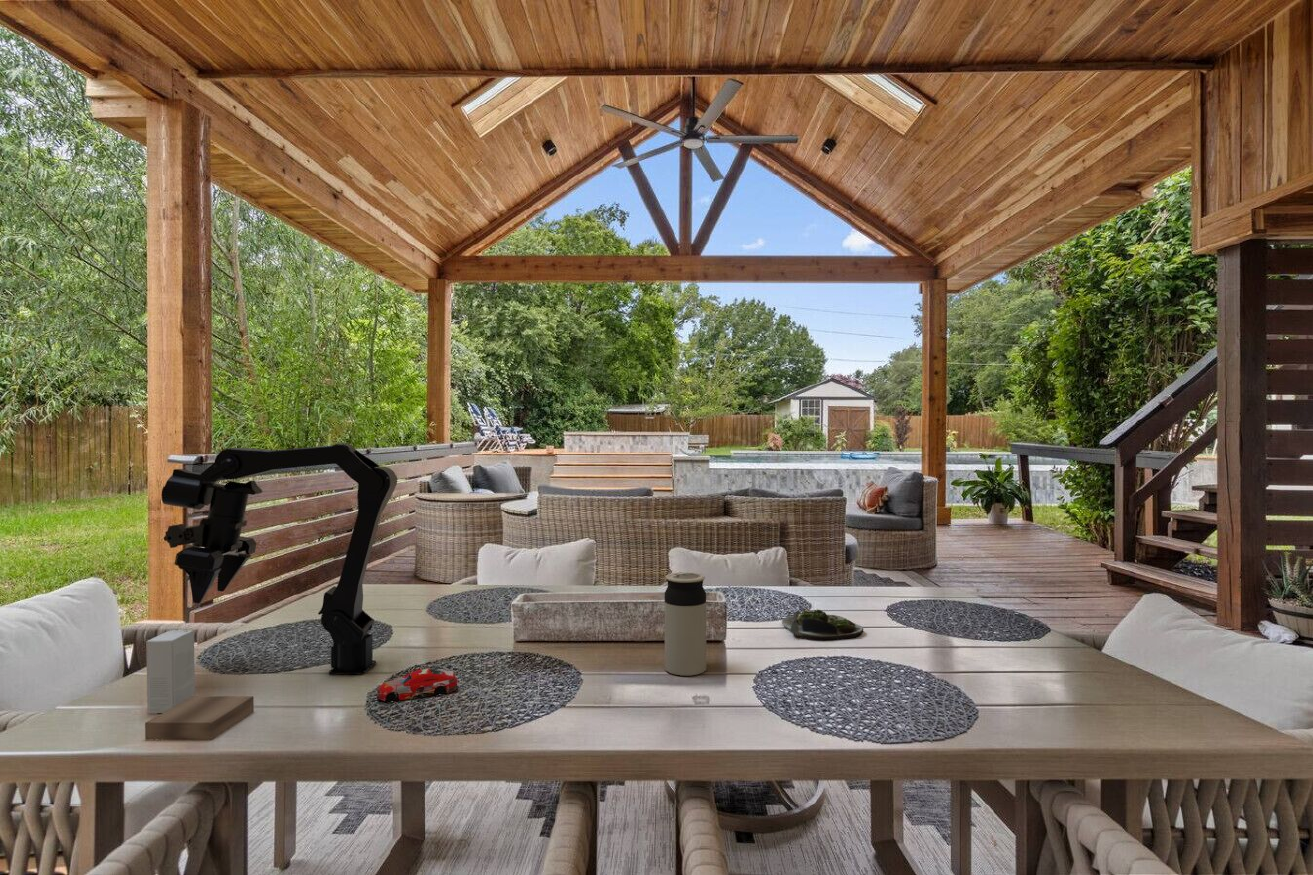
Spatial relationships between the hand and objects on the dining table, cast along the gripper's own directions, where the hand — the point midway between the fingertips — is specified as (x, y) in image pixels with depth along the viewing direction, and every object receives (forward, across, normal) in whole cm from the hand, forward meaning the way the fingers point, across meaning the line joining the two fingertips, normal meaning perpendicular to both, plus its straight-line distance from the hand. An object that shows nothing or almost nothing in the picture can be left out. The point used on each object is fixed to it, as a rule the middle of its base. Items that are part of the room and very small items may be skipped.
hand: (209, 596), depth 125 cm
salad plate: (-9, -8, +125) cm, 126 cm away
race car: (+8, +15, +42) cm, 45 cm away
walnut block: (+14, +22, +12) cm, 29 cm away
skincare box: (+15, +14, +3) cm, 20 cm away
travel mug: (-2, +12, +89) cm, 90 cm away
